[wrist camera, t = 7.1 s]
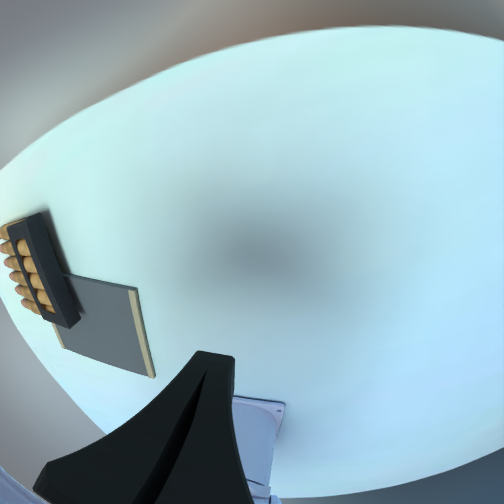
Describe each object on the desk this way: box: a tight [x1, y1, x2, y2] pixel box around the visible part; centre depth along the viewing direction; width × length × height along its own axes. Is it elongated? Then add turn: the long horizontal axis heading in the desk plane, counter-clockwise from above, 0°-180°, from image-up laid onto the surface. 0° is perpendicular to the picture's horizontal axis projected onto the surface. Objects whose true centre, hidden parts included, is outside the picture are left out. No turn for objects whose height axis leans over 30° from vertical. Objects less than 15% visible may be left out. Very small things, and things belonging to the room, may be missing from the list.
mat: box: [51, 272, 156, 379], centre depth 25 cm, size 11×13×1 cm
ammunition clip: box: [0, 213, 81, 329], centre depth 23 cm, size 11×2×12 cm
